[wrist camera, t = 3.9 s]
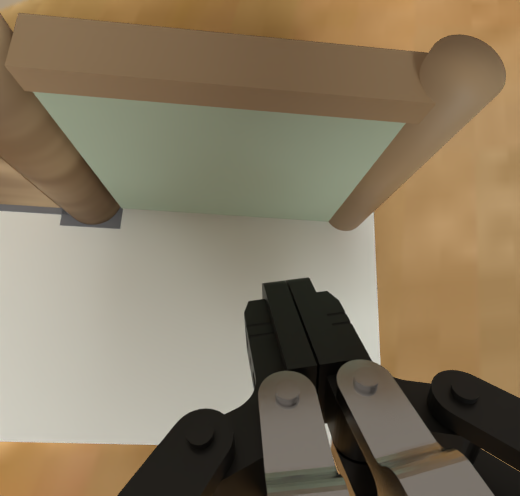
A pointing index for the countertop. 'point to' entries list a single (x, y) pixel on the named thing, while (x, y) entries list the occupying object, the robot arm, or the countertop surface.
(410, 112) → the swing panel
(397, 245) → the countertop surface
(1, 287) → the card
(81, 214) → the fixed fence
